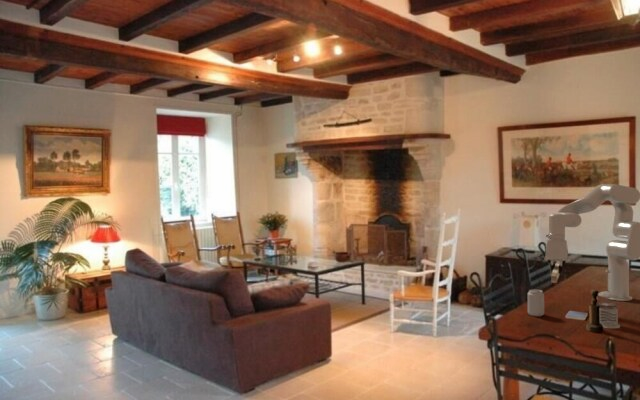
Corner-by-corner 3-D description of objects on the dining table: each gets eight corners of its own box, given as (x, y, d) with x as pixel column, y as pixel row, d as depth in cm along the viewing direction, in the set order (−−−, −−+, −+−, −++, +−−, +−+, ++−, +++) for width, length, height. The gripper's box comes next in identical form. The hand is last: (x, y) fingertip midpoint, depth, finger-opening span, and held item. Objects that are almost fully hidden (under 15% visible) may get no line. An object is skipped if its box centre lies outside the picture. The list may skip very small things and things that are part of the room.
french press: (620, 329, 221) (620, 272, 220) (590, 326, 227) (590, 270, 226) (620, 323, 229) (620, 269, 228) (591, 320, 236) (591, 267, 234)
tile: (569, 310, 249) (565, 315, 241) (587, 312, 244) (584, 317, 236) (569, 314, 249) (565, 319, 241) (587, 316, 244) (584, 321, 236)
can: (545, 317, 243) (545, 292, 242) (529, 316, 244) (529, 292, 244) (542, 312, 250) (542, 288, 250) (526, 312, 252) (526, 288, 251)
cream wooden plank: (557, 267, 269) (556, 261, 268) (562, 268, 267) (561, 261, 266) (551, 282, 257) (550, 275, 255) (556, 282, 255) (556, 275, 254)
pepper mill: (582, 328, 224) (582, 288, 223) (596, 327, 225) (596, 287, 224) (592, 332, 218) (592, 291, 217) (606, 332, 218) (606, 290, 217)
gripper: (538, 237, 263) (538, 272, 264) (572, 239, 254) (572, 275, 255) (541, 235, 269) (542, 270, 270) (575, 237, 260) (575, 273, 261)
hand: (556, 272), depth 262 cm, fingers closed on cream wooden plank, 2 cm apart
